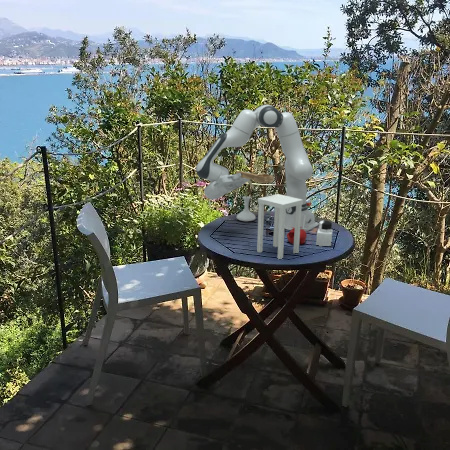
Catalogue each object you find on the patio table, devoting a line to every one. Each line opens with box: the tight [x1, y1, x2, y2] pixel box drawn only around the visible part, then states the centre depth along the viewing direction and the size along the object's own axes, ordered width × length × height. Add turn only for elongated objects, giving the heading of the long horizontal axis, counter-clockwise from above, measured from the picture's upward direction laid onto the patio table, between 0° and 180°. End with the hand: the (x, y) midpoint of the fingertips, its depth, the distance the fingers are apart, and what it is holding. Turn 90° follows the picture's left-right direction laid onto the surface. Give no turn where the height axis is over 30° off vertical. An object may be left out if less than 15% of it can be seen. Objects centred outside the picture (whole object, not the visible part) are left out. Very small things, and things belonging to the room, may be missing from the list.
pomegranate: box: [286, 227, 308, 245], centre depth 228 cm, size 10×10×9 cm
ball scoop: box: [235, 170, 274, 184], centre depth 217 cm, size 6×20×3 cm, turn 43°
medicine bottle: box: [315, 220, 333, 247], centre depth 225 cm, size 7×7×12 cm
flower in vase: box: [236, 180, 257, 222], centre depth 263 cm, size 13×11×25 cm
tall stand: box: [256, 193, 303, 260], centre depth 211 cm, size 14×15×26 cm
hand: (243, 173), depth 221 cm, fingers closed on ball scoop, 2 cm apart
